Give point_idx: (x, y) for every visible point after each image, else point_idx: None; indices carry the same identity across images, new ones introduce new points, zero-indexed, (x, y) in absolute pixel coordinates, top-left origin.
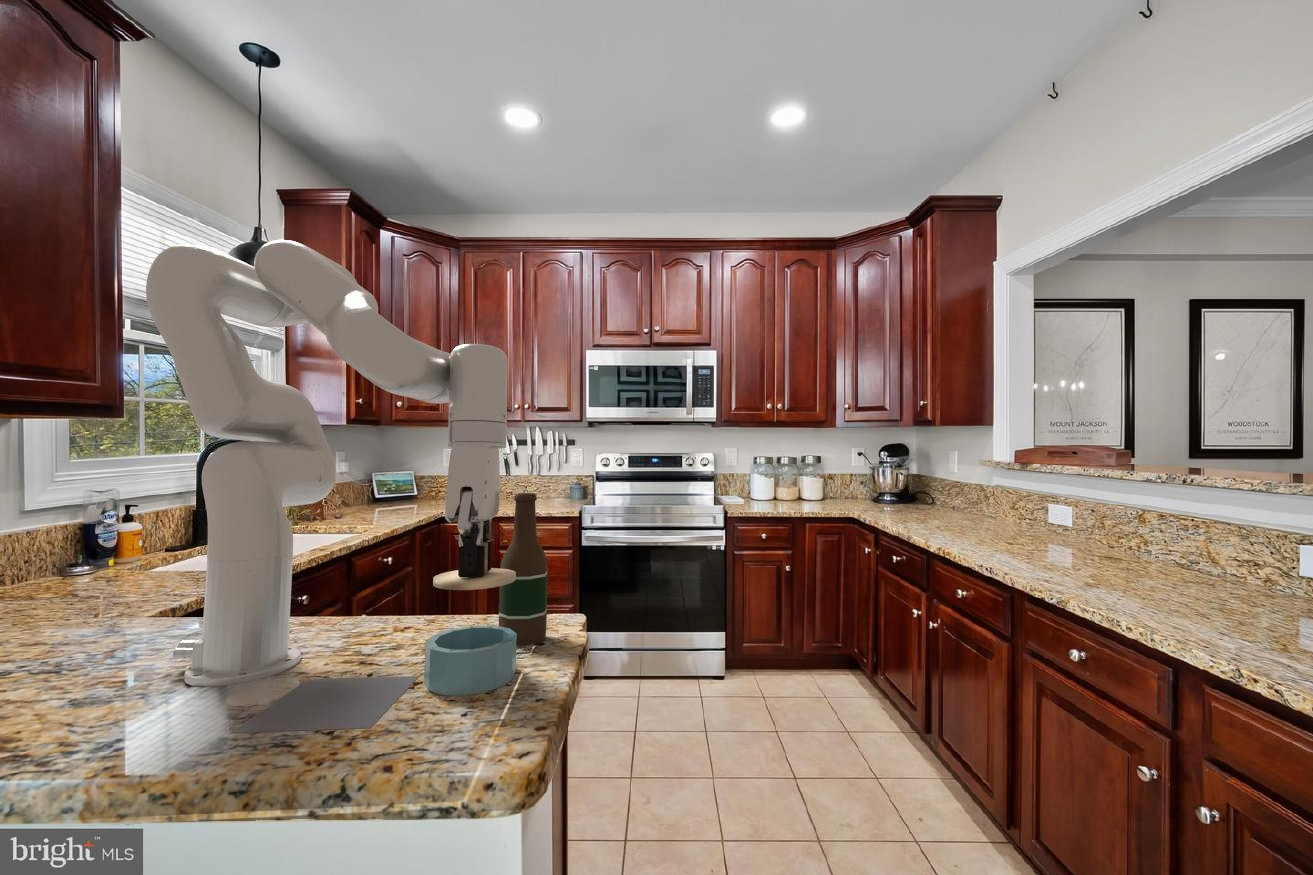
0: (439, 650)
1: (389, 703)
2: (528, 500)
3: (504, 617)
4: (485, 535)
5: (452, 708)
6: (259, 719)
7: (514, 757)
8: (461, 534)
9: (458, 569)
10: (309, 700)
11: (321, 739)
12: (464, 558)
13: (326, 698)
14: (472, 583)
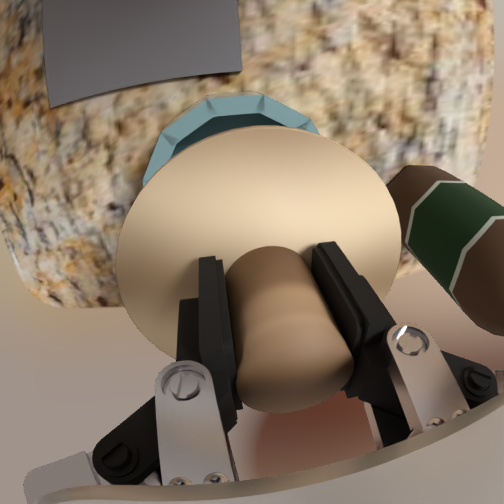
0: (153, 157)
1: (120, 82)
2: None
3: (423, 195)
4: (373, 404)
5: (127, 181)
6: None
7: (48, 291)
8: (101, 446)
9: (199, 271)
10: None
11: (33, 60)
12: (180, 334)
13: None
14: (133, 318)
